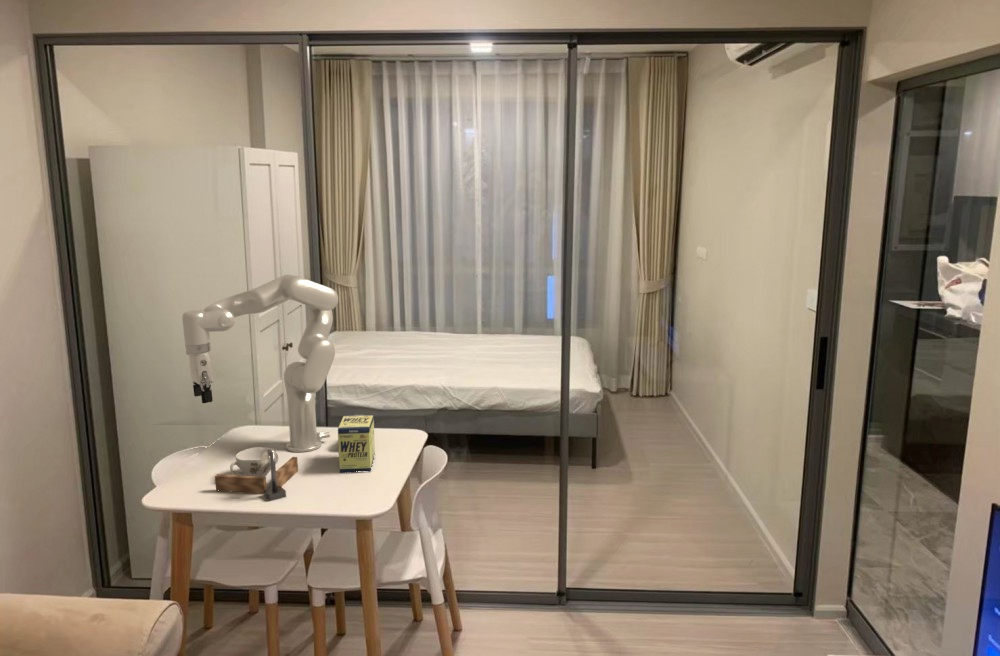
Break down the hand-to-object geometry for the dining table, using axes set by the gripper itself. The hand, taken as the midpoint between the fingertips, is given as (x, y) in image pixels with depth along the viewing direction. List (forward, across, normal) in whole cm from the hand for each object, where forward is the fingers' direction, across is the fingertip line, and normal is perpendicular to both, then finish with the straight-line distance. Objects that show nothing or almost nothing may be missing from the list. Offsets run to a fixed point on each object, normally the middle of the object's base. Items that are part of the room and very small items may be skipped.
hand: (203, 399), depth 235 cm
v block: (+25, -25, -10) cm, 36 cm away
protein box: (+26, -26, -42) cm, 55 cm away
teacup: (+25, -15, -10) cm, 31 cm away
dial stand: (+25, -35, -10) cm, 44 cm away
